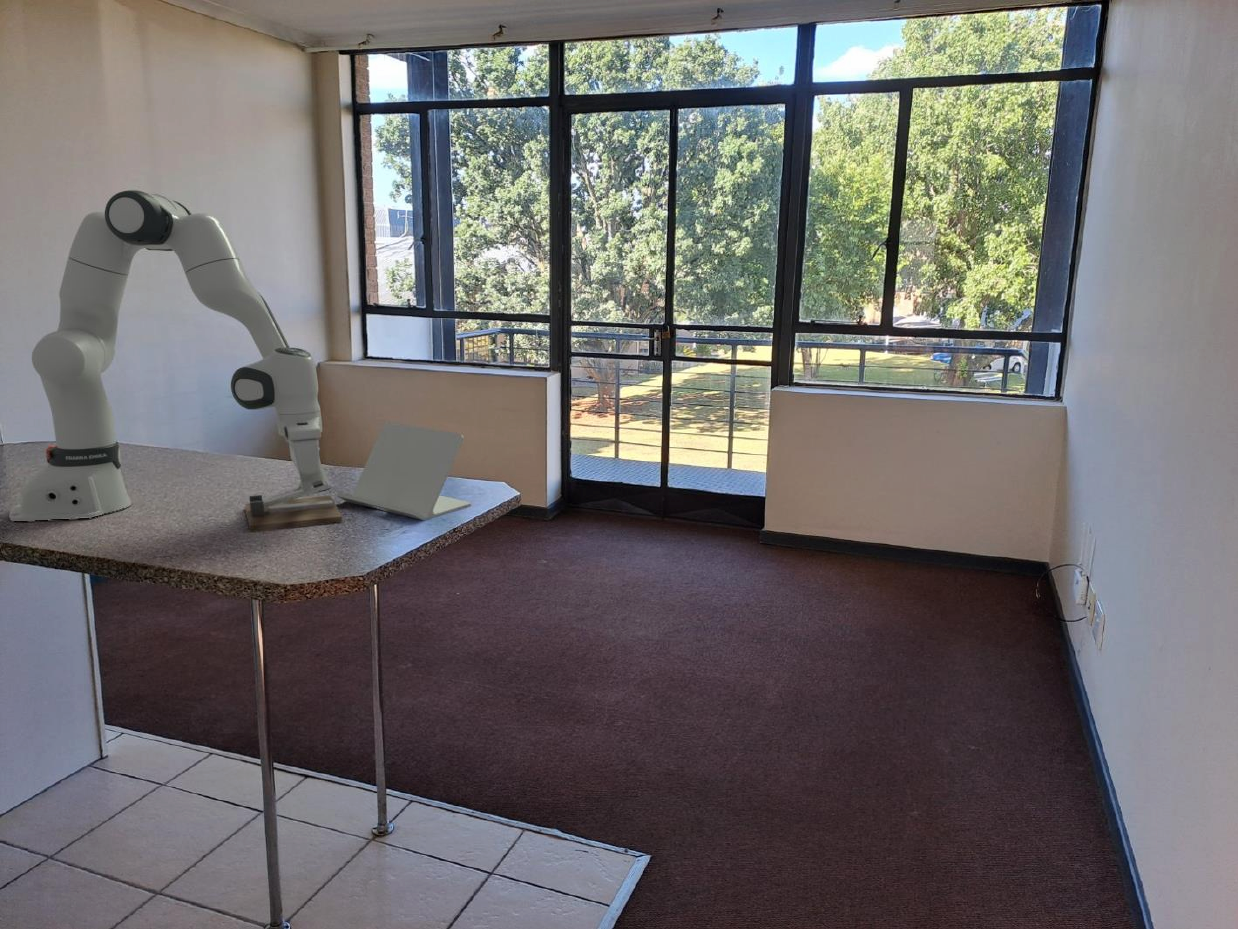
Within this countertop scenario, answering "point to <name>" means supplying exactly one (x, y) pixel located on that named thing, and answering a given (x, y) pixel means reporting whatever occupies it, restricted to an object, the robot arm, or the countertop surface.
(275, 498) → the upper tong arm
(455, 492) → the countertop surface
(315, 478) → the flask
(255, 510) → the lower tong arm
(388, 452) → the tablet stand
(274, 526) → the walnut board
